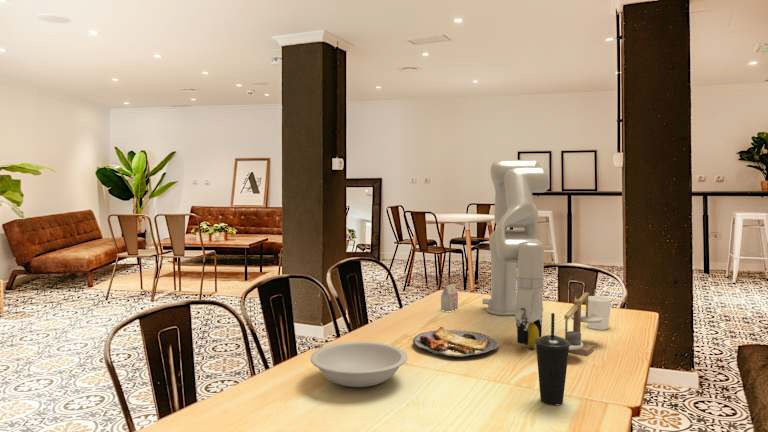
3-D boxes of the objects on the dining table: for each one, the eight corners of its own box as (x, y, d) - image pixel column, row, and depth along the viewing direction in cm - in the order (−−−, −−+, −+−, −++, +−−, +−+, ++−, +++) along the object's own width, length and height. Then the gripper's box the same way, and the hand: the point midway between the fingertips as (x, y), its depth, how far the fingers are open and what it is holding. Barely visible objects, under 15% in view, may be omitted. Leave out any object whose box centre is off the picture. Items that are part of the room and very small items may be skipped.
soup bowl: (373, 409, 115) (373, 379, 115) (290, 387, 128) (289, 360, 127) (424, 375, 135) (424, 350, 135) (348, 359, 148) (348, 336, 148)
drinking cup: (528, 394, 123) (530, 309, 122) (560, 393, 123) (562, 309, 122) (541, 408, 115) (542, 318, 114) (575, 407, 116) (577, 317, 115)
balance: (544, 359, 148) (544, 303, 147) (576, 337, 169) (577, 288, 168) (576, 365, 142) (577, 307, 141) (605, 342, 163) (607, 291, 162)
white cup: (606, 324, 184) (606, 296, 184) (613, 330, 176) (614, 301, 176) (582, 324, 185) (583, 295, 184) (589, 330, 177) (589, 300, 177)
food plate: (398, 346, 159) (398, 335, 159) (444, 331, 176) (444, 321, 176) (467, 368, 143) (468, 355, 142) (511, 349, 160) (511, 338, 159)
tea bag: (440, 311, 204) (441, 285, 204) (449, 307, 210) (449, 283, 209) (449, 312, 202) (449, 286, 202) (457, 309, 208) (458, 284, 207)
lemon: (539, 345, 160) (539, 319, 160) (538, 351, 155) (538, 324, 154) (520, 344, 162) (520, 318, 161) (519, 349, 157) (519, 322, 156)
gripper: (530, 278, 166) (529, 331, 167) (505, 285, 153) (505, 344, 154) (553, 280, 161) (552, 335, 162) (530, 288, 148) (529, 349, 149)
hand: (529, 339), depth 158 cm, fingers open, 9 cm apart
